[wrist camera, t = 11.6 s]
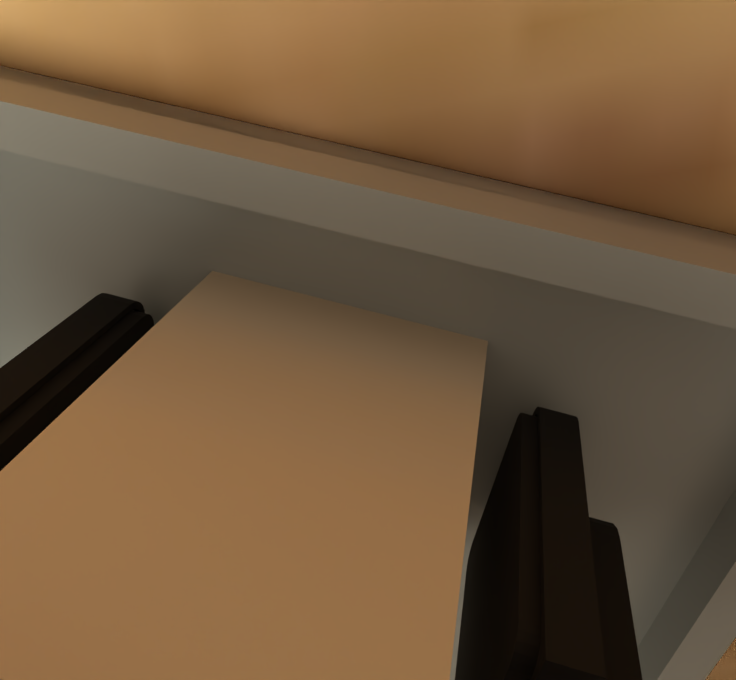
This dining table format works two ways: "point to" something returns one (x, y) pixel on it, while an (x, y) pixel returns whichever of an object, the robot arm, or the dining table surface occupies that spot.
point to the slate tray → (417, 304)
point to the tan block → (248, 500)
